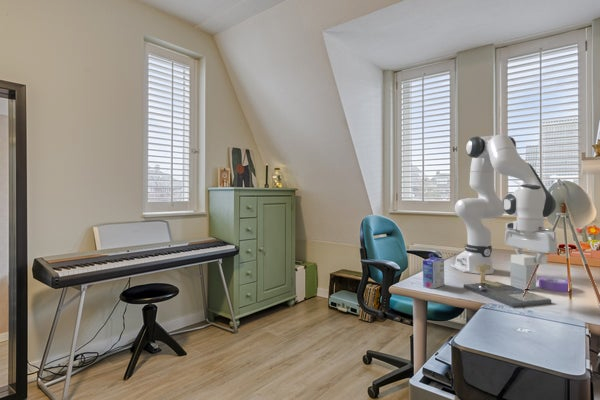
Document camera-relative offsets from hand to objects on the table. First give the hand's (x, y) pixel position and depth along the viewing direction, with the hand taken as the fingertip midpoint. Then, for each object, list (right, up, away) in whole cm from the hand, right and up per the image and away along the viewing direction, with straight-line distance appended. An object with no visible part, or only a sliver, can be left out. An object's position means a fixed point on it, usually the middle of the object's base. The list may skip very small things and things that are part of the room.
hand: (529, 261), depth 135 cm
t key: (-12, -12, +7) cm, 18 cm away
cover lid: (0, -1, 0) cm, 1 cm away
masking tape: (+23, -16, +18) cm, 33 cm away
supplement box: (+9, -15, +18) cm, 26 cm away
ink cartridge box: (-29, -15, +21) cm, 39 cm away
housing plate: (-5, -15, +7) cm, 18 cm away
